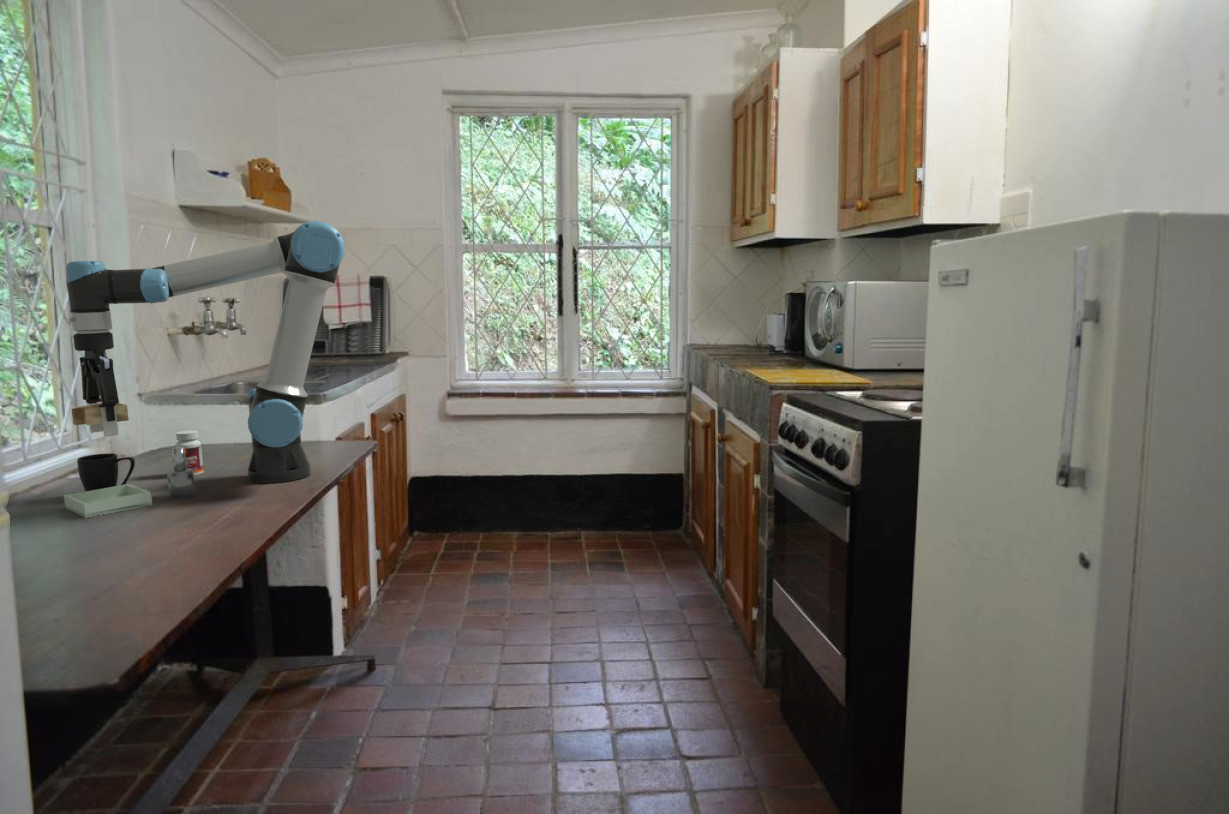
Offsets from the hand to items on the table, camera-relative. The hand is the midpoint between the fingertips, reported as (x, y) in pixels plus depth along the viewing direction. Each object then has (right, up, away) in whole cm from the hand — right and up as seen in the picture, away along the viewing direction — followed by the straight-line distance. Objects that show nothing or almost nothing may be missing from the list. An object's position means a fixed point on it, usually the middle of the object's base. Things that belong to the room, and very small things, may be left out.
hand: (104, 433), depth 198 cm
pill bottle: (+3, -12, +34) cm, 36 cm away
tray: (0, -17, +2) cm, 17 cm away
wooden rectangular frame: (0, +3, 0) cm, 3 cm away
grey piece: (+13, -15, +10) cm, 22 cm away
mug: (-6, -15, +13) cm, 21 cm away
